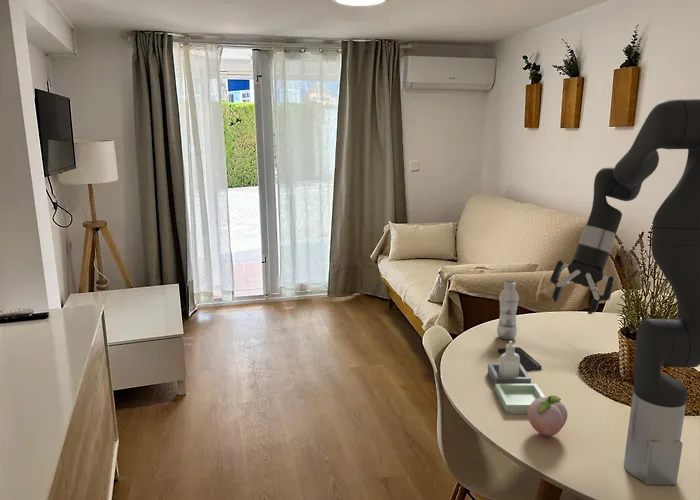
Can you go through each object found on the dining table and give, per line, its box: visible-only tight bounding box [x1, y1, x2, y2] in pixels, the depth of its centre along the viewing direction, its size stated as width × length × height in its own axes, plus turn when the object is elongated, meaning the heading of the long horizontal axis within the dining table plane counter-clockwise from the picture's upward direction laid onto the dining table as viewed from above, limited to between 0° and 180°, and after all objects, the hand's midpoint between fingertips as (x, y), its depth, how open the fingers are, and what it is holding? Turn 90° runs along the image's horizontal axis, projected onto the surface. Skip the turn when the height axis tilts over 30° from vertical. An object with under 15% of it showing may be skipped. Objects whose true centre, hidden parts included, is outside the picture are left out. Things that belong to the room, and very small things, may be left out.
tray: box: [494, 383, 546, 415], centre depth 134 cm, size 11×11×2 cm
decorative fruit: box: [527, 395, 568, 437], centre depth 119 cm, size 9×8×10 cm
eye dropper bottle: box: [498, 340, 520, 377], centre depth 145 cm, size 4×6×12 cm
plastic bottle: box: [496, 279, 520, 341], centre depth 174 cm, size 6×7×20 cm
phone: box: [497, 346, 543, 372], centre depth 159 cm, size 8×1×15 cm
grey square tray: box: [487, 363, 532, 387], centre depth 146 cm, size 9×9×3 cm
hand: (572, 307), depth 131 cm, fingers open, 8 cm apart
